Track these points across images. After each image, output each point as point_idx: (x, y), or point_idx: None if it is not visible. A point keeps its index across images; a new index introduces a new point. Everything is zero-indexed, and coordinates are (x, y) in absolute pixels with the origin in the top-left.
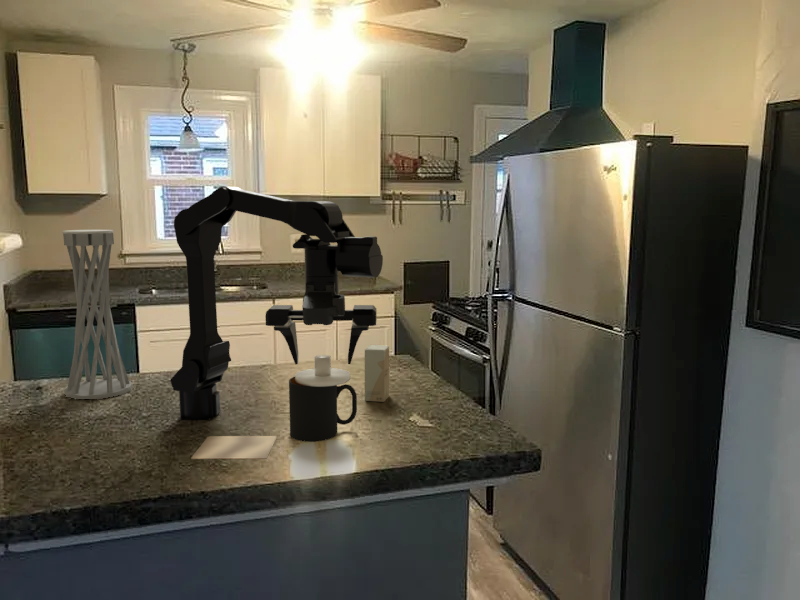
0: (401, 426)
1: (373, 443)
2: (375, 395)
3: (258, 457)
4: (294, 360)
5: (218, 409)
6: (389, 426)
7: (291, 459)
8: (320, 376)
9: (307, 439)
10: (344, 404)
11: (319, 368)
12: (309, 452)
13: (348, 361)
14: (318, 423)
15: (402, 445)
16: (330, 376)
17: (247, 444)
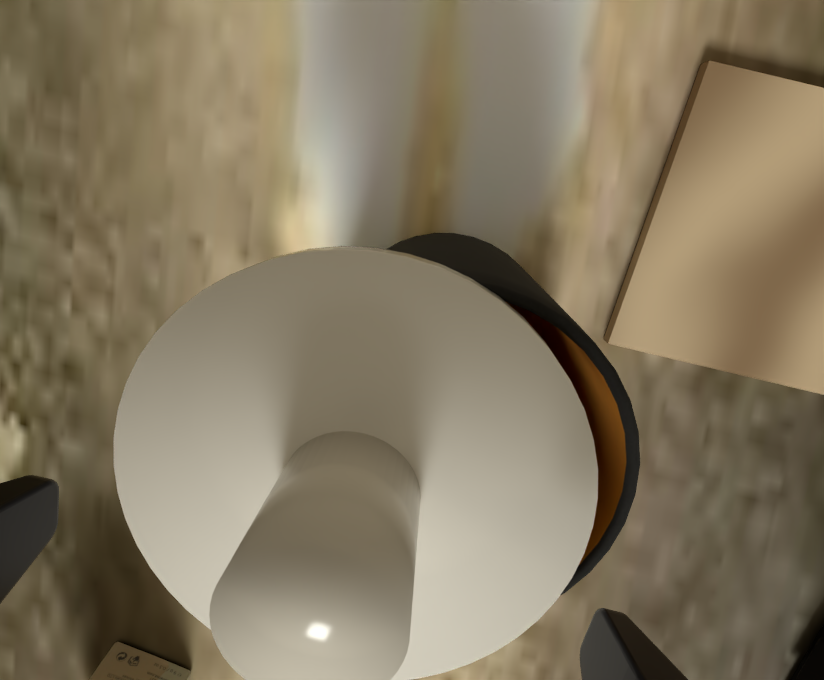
0: (61, 362)
1: (193, 187)
2: (135, 675)
3: (744, 80)
4: (648, 641)
5: (816, 676)
6: (111, 374)
7: (581, 71)
8: (376, 437)
9: (484, 242)
10: None
11: (374, 485)
12: (487, 143)
13: (27, 491)
14: (430, 242)
15: (67, 129)
16: (287, 419)
17: (759, 269)
